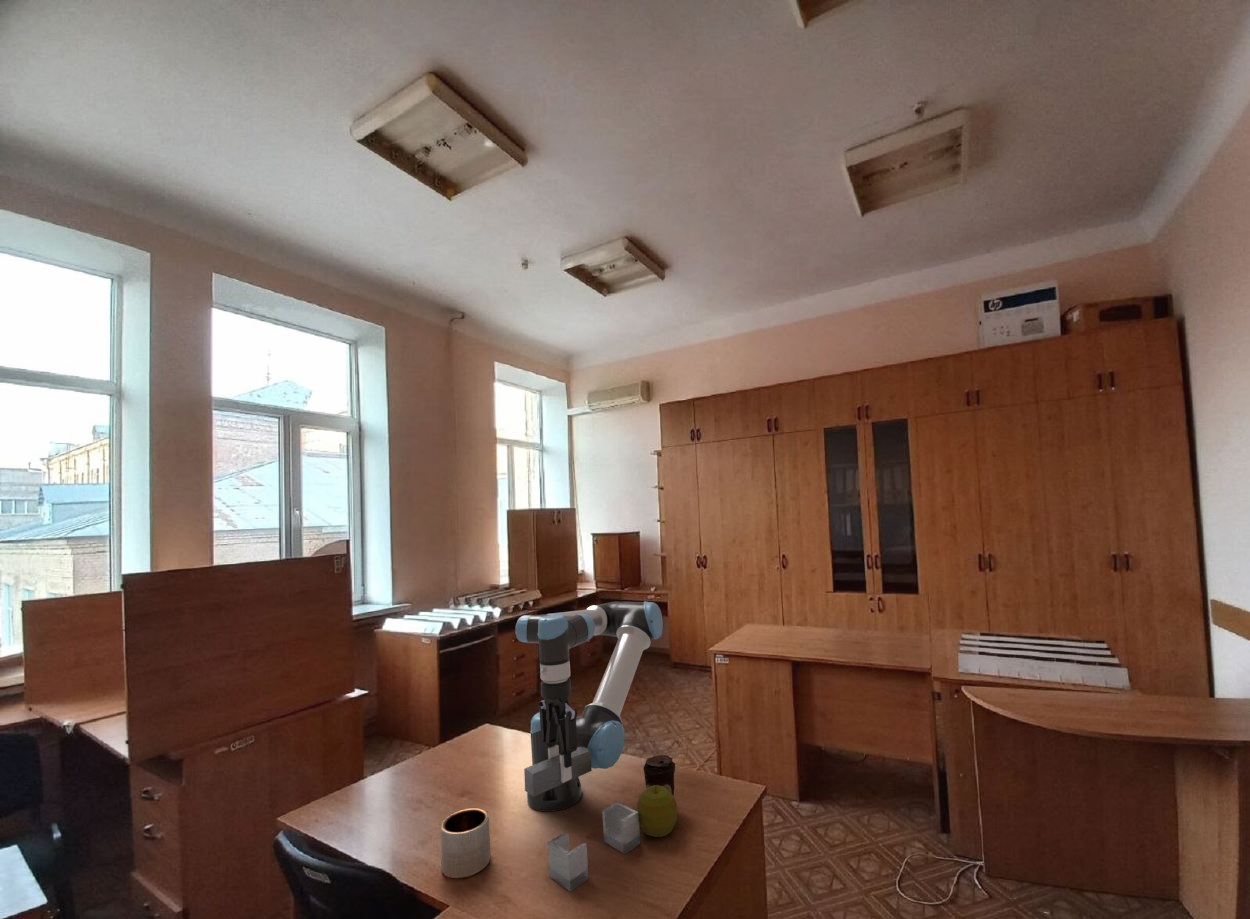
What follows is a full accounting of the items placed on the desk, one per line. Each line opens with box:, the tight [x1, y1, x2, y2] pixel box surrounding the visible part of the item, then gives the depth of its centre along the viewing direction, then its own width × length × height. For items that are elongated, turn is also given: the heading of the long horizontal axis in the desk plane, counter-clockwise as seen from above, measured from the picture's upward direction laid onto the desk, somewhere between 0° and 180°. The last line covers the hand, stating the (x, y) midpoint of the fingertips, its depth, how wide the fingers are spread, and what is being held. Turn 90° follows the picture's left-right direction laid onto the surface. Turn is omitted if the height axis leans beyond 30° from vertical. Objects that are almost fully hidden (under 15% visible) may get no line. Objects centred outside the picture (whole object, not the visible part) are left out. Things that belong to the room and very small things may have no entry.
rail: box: [523, 746, 593, 796], centre depth 130 cm, size 4×17×5 cm, turn 131°
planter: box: [440, 807, 492, 879], centre depth 122 cm, size 11×11×10 cm
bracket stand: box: [547, 801, 641, 892], centre depth 120 cm, size 7×21×7 cm, turn 134°
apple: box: [636, 785, 678, 838], centre depth 129 cm, size 10×10×11 cm
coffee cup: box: [643, 754, 676, 798], centre depth 138 cm, size 9×8×13 cm
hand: (560, 777), depth 130 cm, fingers closed on rail, 4 cm apart
